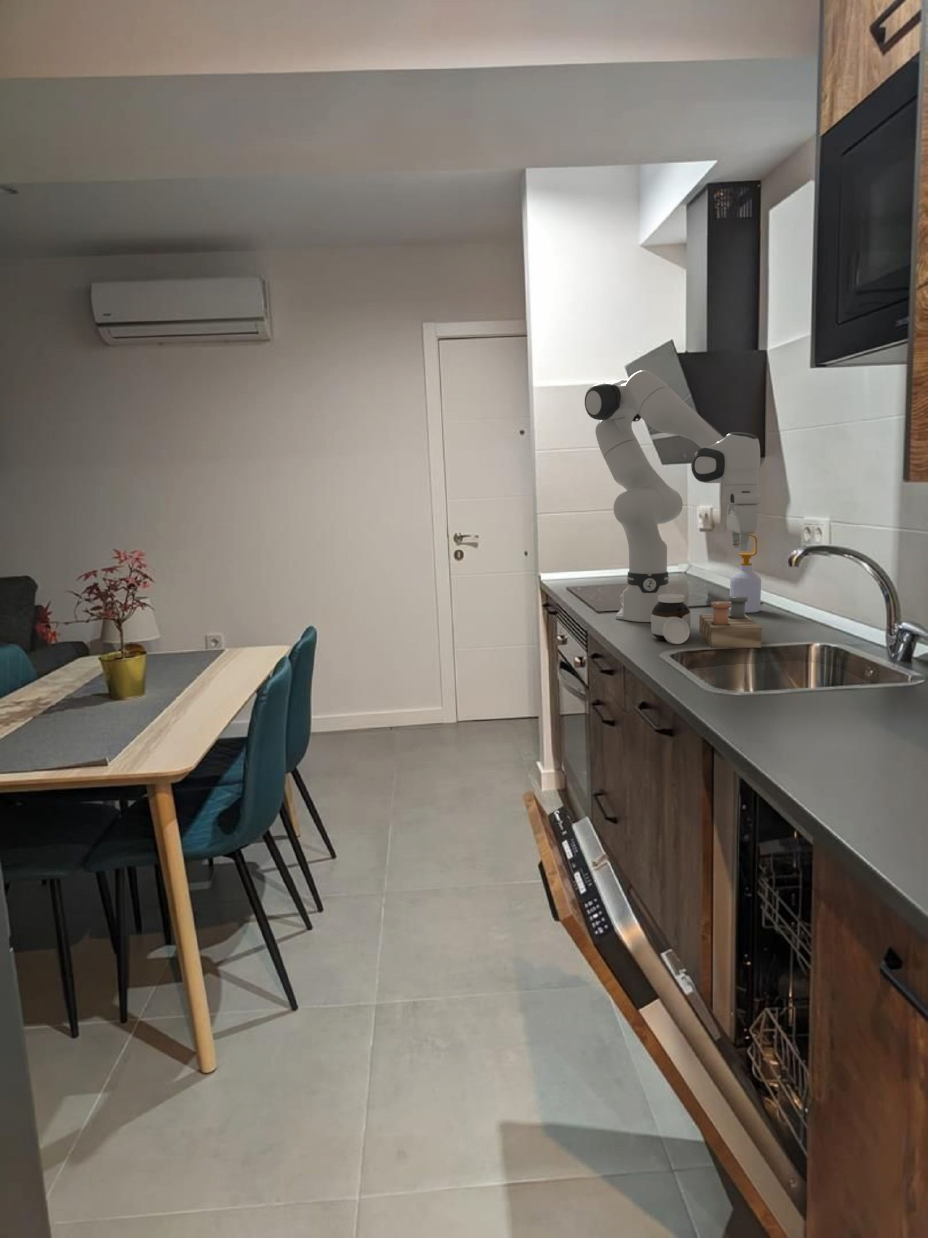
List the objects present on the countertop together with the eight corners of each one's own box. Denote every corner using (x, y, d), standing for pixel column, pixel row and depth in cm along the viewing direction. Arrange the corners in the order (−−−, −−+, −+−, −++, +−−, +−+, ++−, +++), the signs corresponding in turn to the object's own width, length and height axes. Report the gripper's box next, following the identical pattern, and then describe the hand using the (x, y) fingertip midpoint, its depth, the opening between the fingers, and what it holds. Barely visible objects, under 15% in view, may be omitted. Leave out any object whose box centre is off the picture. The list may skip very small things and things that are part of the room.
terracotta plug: (709, 627, 219) (709, 601, 218) (728, 627, 219) (728, 601, 217) (712, 631, 215) (713, 604, 213) (731, 631, 214) (732, 604, 213)
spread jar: (672, 634, 230) (673, 592, 228) (705, 640, 221) (706, 596, 219) (641, 640, 223) (641, 596, 221) (673, 647, 214) (674, 601, 212)
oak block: (699, 632, 232) (699, 614, 231) (744, 631, 230) (744, 613, 229) (711, 647, 212) (712, 628, 211) (761, 647, 211) (761, 627, 210)
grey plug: (726, 621, 227) (727, 595, 226) (744, 621, 227) (745, 595, 226) (729, 624, 223) (730, 598, 221) (748, 624, 222) (749, 598, 221)
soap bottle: (728, 608, 268) (731, 530, 264) (759, 608, 266) (761, 530, 261) (729, 612, 260) (732, 532, 255) (761, 613, 257) (764, 532, 253)
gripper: (721, 494, 229) (720, 545, 232) (736, 497, 209) (734, 553, 212) (745, 494, 228) (743, 545, 231) (762, 496, 208) (760, 552, 211)
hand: (739, 549), depth 221 cm, fingers open, 8 cm apart
